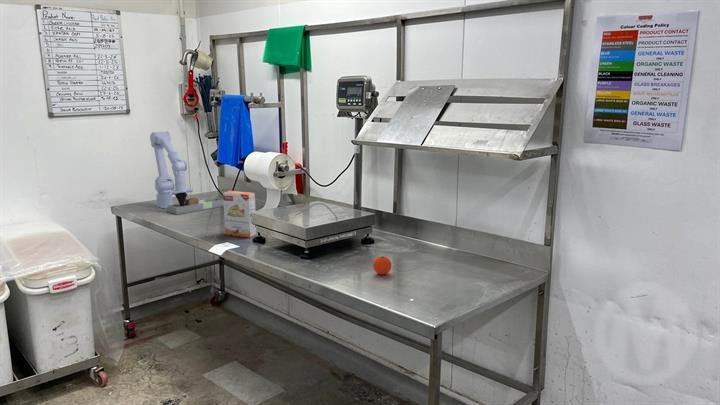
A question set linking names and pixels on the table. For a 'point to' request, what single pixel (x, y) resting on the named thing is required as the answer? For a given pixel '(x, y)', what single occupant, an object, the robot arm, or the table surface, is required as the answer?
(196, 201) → the walnut block
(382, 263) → the clementine
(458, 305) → the table surface
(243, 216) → the cracker box
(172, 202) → the robot arm
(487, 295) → the table surface
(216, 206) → the trap channel
